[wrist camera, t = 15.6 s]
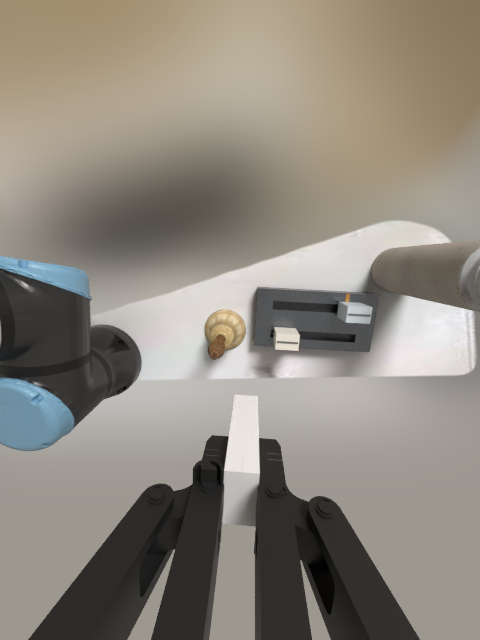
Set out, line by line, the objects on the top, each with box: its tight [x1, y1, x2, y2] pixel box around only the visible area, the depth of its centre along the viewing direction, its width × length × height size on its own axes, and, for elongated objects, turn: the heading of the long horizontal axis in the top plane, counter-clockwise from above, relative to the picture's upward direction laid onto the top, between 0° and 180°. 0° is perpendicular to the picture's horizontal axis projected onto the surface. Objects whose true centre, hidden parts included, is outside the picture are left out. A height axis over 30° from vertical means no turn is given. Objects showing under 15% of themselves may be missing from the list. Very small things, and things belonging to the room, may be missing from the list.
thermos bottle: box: [371, 240, 480, 312], centre depth 36 cm, size 8×8×28 cm
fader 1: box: [273, 327, 300, 351], centre depth 49 cm, size 4×3×7 cm
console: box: [254, 287, 379, 352], centre depth 52 cm, size 22×11×3 cm, turn 87°
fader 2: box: [337, 302, 373, 324], centre depth 47 cm, size 4×3×6 cm
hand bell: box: [205, 310, 246, 360], centre depth 47 cm, size 8×8×16 cm
